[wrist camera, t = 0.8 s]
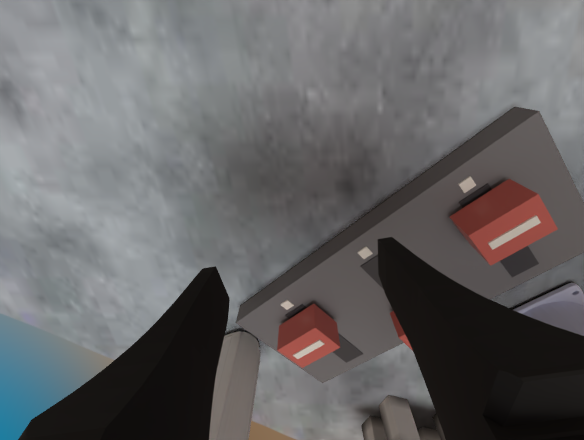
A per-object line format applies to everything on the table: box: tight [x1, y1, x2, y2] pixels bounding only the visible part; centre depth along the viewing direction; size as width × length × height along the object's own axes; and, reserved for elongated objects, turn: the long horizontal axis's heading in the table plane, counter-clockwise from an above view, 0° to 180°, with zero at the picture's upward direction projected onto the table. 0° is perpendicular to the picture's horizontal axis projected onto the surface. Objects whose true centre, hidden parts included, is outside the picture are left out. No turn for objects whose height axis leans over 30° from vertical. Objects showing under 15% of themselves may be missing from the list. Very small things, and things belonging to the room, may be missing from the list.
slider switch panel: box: [236, 107, 584, 383], centre depth 23 cm, size 12×26×2 cm, turn 133°
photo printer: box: [209, 331, 261, 440], centre depth 24 cm, size 10×4×12 cm, turn 123°
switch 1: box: [277, 304, 340, 368], centre depth 23 cm, size 3×4×2 cm
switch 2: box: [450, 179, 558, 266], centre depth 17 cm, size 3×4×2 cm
